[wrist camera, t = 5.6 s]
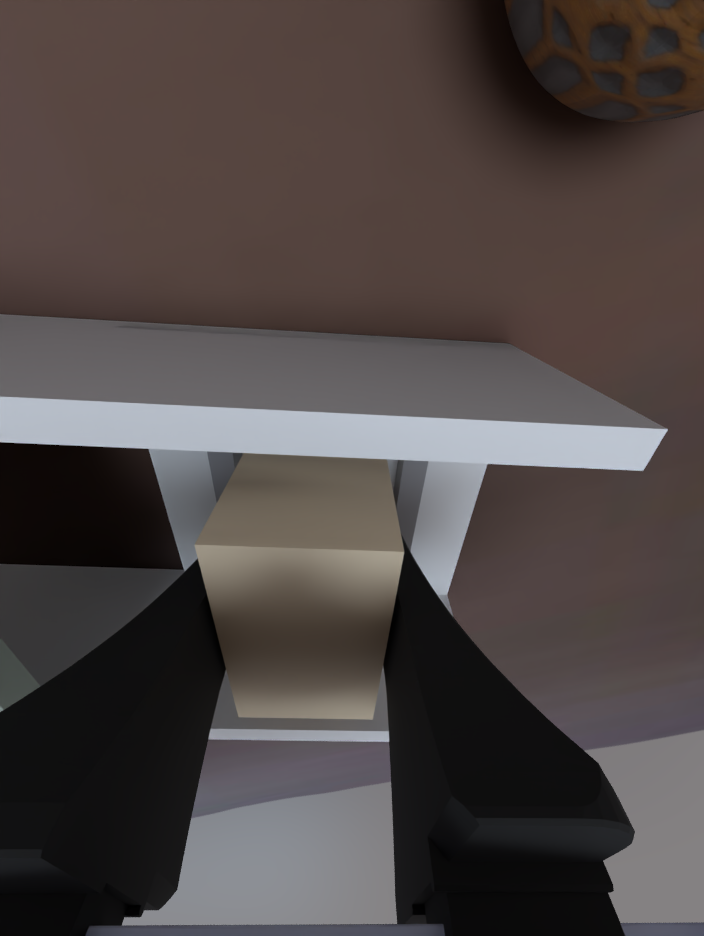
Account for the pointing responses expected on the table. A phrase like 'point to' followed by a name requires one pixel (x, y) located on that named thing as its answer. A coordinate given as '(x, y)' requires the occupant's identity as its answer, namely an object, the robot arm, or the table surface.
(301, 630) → the tan rectangular block
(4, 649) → the lid
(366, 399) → the housing
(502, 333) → the table surface
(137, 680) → the robot arm
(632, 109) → the vase
